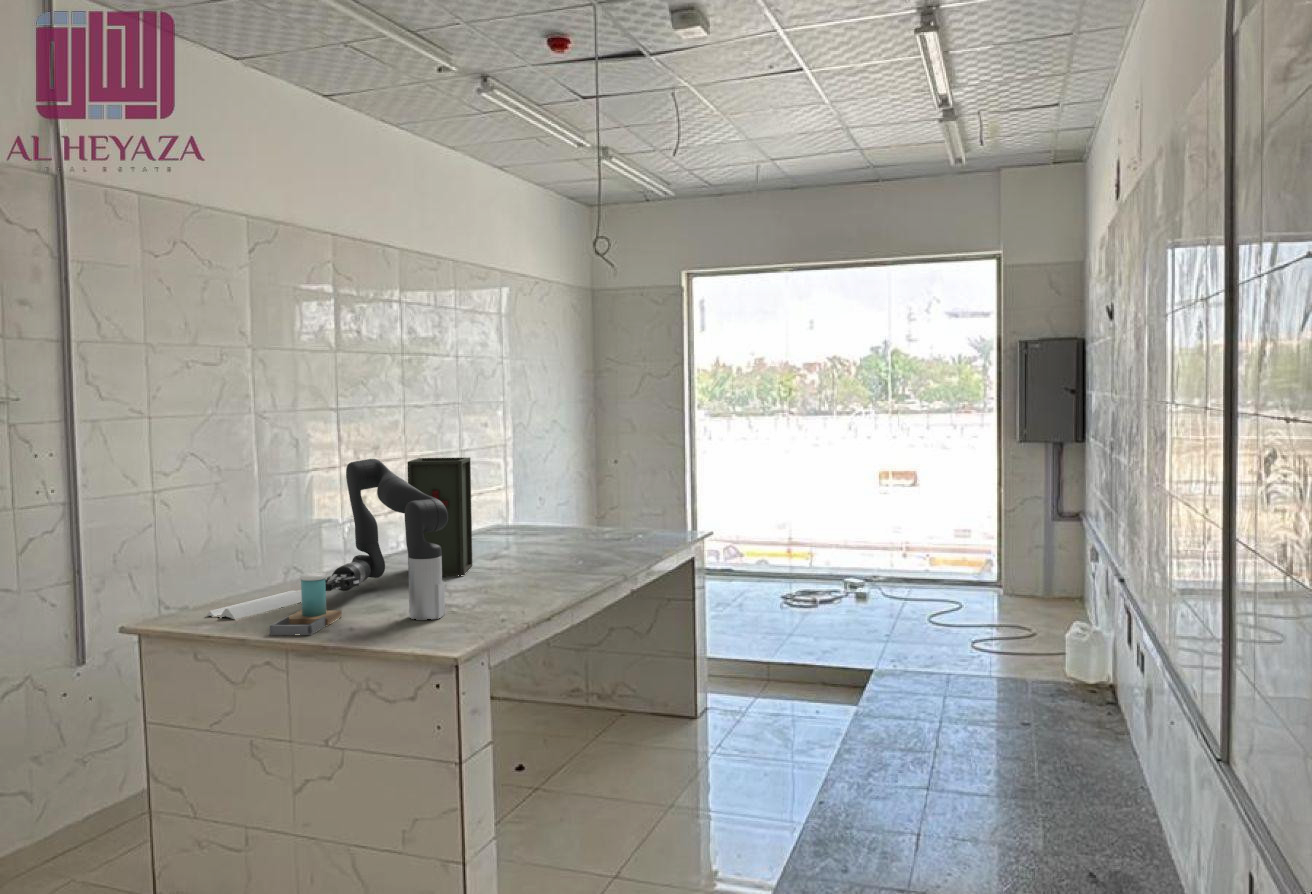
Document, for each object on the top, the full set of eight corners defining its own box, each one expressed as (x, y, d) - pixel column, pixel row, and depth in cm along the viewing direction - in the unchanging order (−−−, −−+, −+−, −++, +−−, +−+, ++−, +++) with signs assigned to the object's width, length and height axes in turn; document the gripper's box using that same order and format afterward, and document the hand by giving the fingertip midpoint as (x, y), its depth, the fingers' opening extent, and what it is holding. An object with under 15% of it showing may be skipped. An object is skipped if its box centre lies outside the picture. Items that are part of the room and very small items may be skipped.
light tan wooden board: (341, 617, 268) (341, 610, 268) (327, 626, 258) (327, 619, 258) (299, 617, 269) (299, 610, 269) (284, 626, 259) (284, 618, 259)
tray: (325, 626, 258) (325, 616, 258) (311, 635, 248) (310, 625, 248) (286, 626, 259) (286, 616, 259) (269, 635, 249) (269, 625, 249)
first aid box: (472, 566, 346) (470, 457, 344) (463, 576, 328) (461, 461, 325) (421, 567, 346) (419, 457, 343) (410, 577, 327) (407, 461, 325)
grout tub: (330, 611, 268) (329, 572, 267) (321, 616, 261) (320, 577, 260) (307, 611, 268) (306, 572, 267) (297, 616, 261) (295, 577, 261)
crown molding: (291, 597, 299) (291, 585, 299) (320, 600, 294) (319, 589, 294) (207, 618, 271) (206, 605, 271) (236, 622, 266) (236, 609, 266)
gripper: (327, 563, 291) (304, 574, 273) (370, 563, 290) (349, 574, 273) (328, 588, 291) (304, 600, 274) (370, 588, 290) (349, 600, 273)
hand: (327, 587), depth 273 cm, fingers closed
